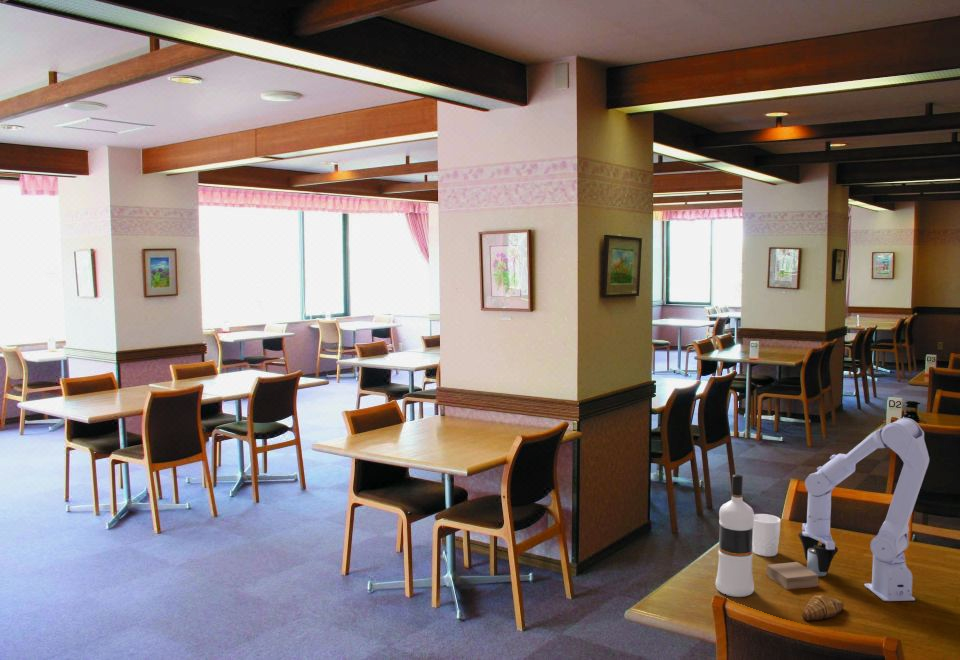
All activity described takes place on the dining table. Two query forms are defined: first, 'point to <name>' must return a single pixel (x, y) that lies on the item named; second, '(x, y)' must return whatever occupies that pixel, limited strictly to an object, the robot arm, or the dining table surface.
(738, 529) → the vodka
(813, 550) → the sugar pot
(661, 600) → the dining table surface
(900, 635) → the dining table surface
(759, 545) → the white cup
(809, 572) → the walnut box
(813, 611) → the croissant
